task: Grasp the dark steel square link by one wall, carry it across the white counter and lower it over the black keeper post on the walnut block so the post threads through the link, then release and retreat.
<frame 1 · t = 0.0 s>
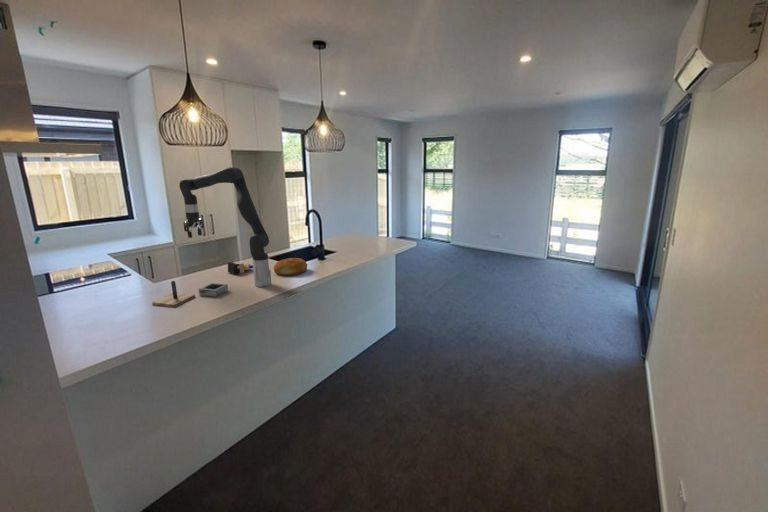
hand: (195, 236, 220), 29 cm above the table, fingers open, 8 cm apart
bread: (291, 272, 247), on the table
link: (214, 293, 204), on the table
toy: (240, 272, 246), on the table
keeper: (175, 300, 192), on the table
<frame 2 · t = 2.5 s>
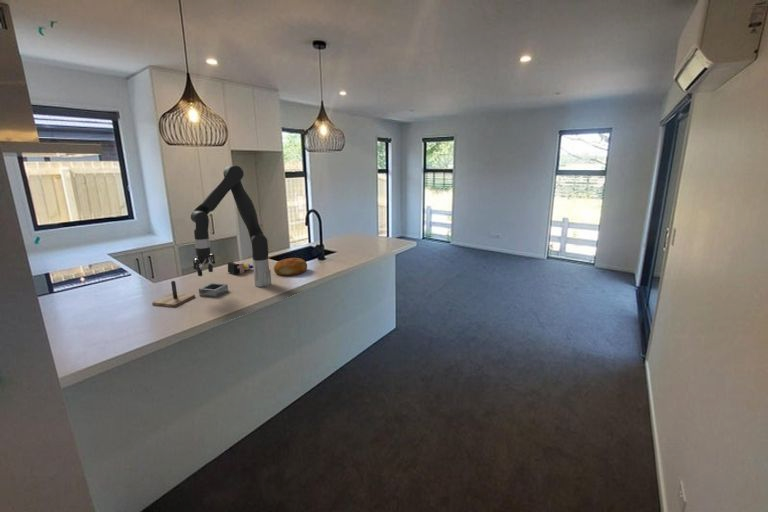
hand: (205, 273, 196), 13 cm above the table, fingers open, 8 cm apart
nothing on the table moved.
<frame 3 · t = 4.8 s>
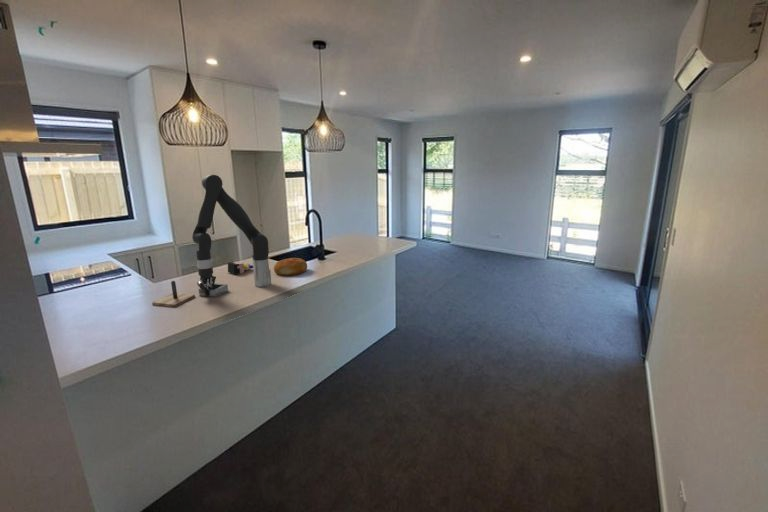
hand: (208, 294, 200), 1 cm above the table, fingers closed on link
link: (214, 293, 204), on the table, touching gripper
everything else where it was.
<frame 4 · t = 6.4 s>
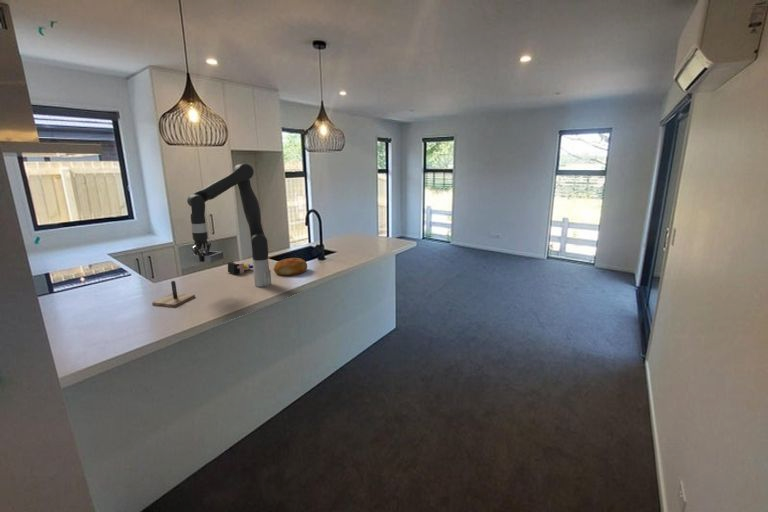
hand: (203, 261, 194), 21 cm above the table, fingers closed on link
link: (209, 260, 199), point 21 cm above the table, touching gripper
everything else where it was.
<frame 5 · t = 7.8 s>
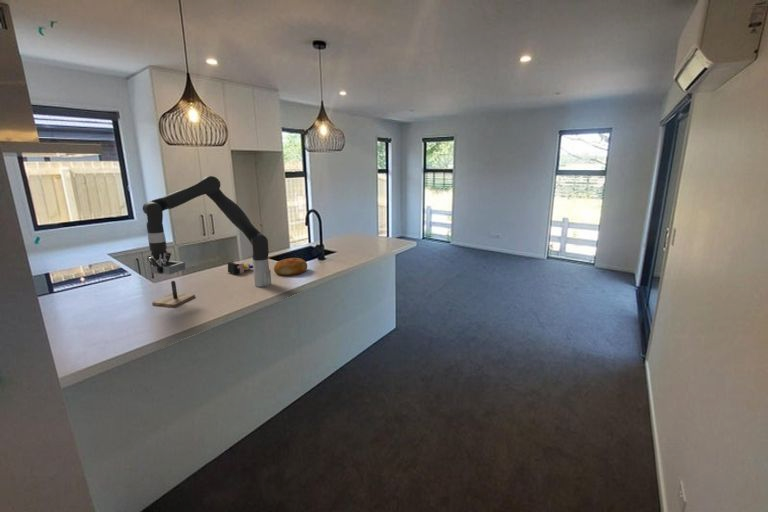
hand: (162, 272, 182), 18 cm above the table, fingers closed on link
link: (169, 271, 186), point 18 cm above the table, touching gripper
everything else where it was.
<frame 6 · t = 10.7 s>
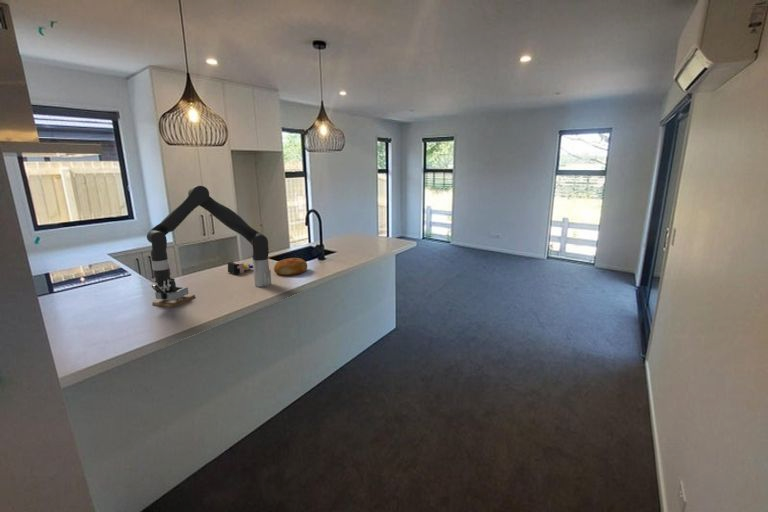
hand: (165, 298, 185), 4 cm above the table, fingers closed on link
link: (172, 296, 190), point 3 cm above the table, touching gripper
everything else where it was.
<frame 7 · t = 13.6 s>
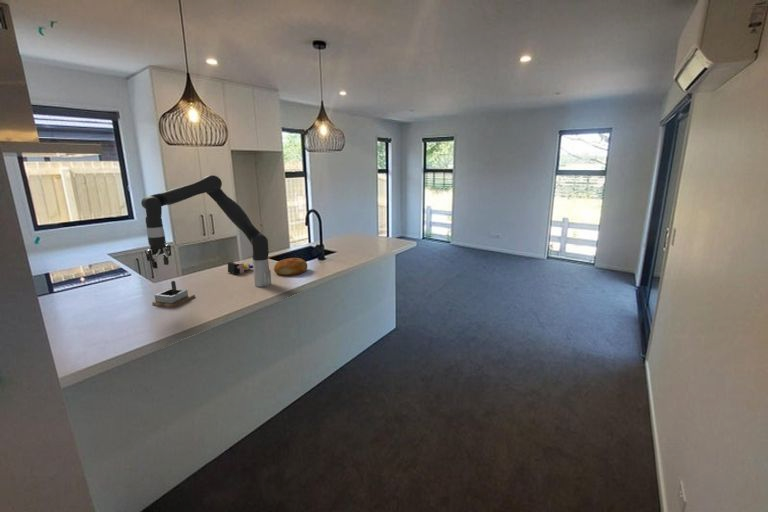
hand: (161, 266, 181), 22 cm above the table, fingers open, 6 cm apart
link: (172, 299, 190), point 1 cm above the table, touching keeper
everything else where it was.
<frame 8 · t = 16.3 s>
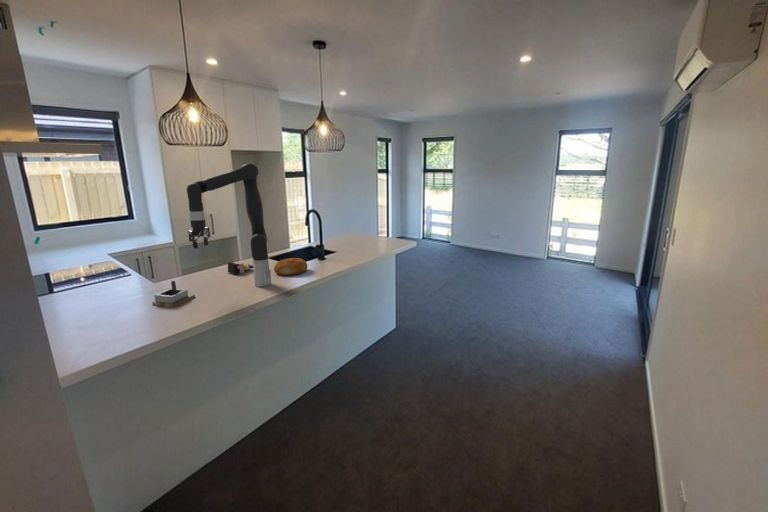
hand: (201, 246, 198), 28 cm above the table, fingers open, 8 cm apart
nothing on the table moved.
at the end: link 2.2 cm off-centre on the keeper, point 1.5 cm above the keeper's base; the gripper is holding nothing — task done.
